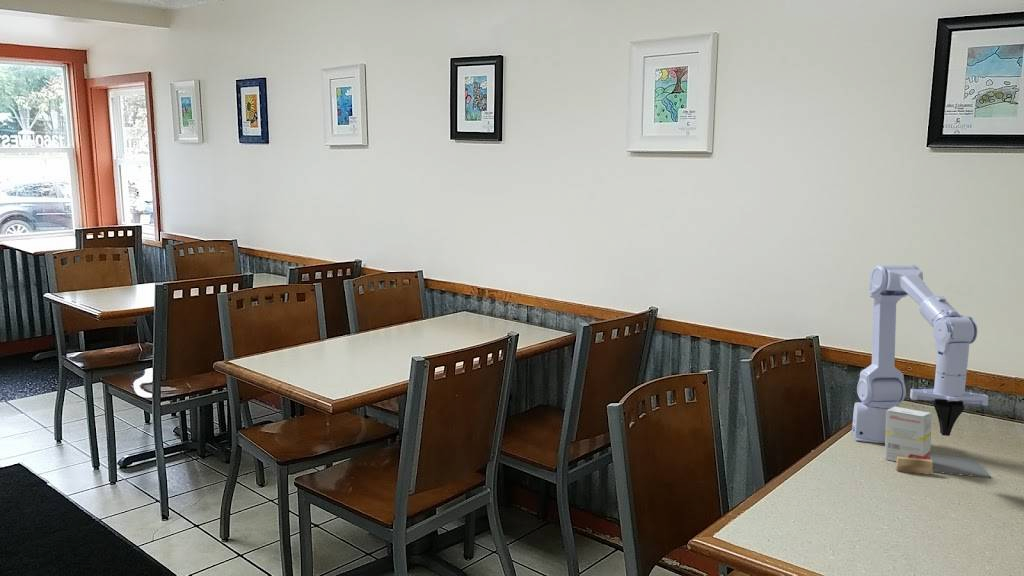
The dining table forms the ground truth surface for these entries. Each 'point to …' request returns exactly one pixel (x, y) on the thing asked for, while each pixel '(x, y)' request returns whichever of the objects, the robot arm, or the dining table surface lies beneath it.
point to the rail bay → (914, 465)
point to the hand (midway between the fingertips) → (944, 434)
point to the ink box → (907, 434)
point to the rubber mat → (958, 465)
